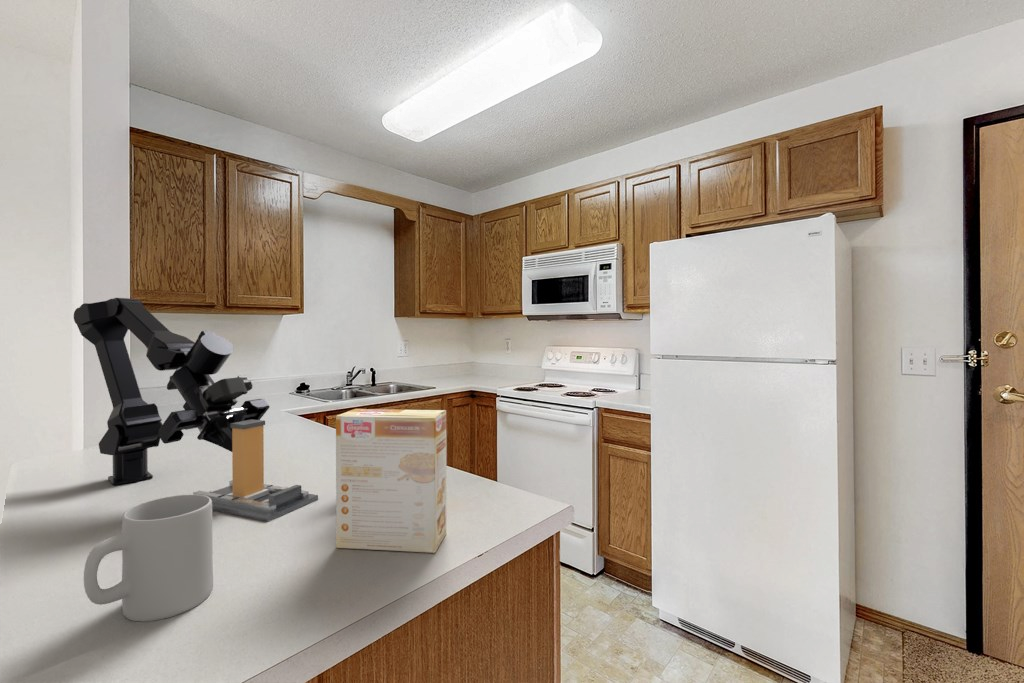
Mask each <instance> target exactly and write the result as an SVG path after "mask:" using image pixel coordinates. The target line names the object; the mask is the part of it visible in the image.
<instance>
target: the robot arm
mask: <svg viewBox="0 0 1024 683" xmlns="http://www.w3.org/2000/svg"><path fill="white" fill-rule="evenodd" d="M73 321H74V323H75V324H76V325H77V329H78V331H79V333H80V335H81V336H82V337H83V338H84V339H86V340H87V341H88V342H90V343H91V344H92V345H94V347H95V351H96V354H97V357H98V361H99V365H100V366H101V371H102V375H103V377H104V380H105V384H106V388H107V390H108V391H107V392H108V394H109V398H110V401H111V405H112V410H111V413H110V415H109V416H108V419H107V421H106V424H107V428H108V429H107V431H106V432H105V434H104V435H103V436H102V438H101V439H100V441H99V442H98V449H99V453H100V454H102V455H107V456H108V455H109V456H112V475H109V476H107V479H108V481H109V482H110V483H111V484H112V485H113V486H117V485H121V484H122V485H123V484H127V483H132V482H133V483H134V482H138V481H144V480H150V479H153V477H154V476H153V474H152V473H150V471H148V470H149V469H148V468H149V467H148V464H149V462H148V461H149V460H148V456H149V455H148V449H151V448H157V447H159V445H160V442H161V441H162V443H163V444H164V445H166V444H171V443H175V442H180V441H181V440H182V438H183V436H184V432H183V431H184V430H186V431H187V430H193V429H198V431H199V434H198V436H196V439H197V440H199V441H201V440H203V441H205V442H208V443H211V444H213V445H216V446H218V447H221V448H223V449H225V450H227V451H228V452H231V453H232V428H230V424H231V423H236V422H241V421H246V420H251V419H253V420H262V417H264V415H265V414H266V412H267V411H268V410H269V409H270V405H269V404H268V402H267V401H266V400H265V398H255V399H250V400H249V399H248V400H245V401H244V402H243V403H242V404H241V406H240V407H239V408H232V407H233V406H235V405H236V404H237V403H238V400H237V398H239V397H241V396H242V395H247V394H248V392H249V391H251V390H252V389H253V383H252V380H251V379H250V377H248V375H246V374H242V375H237V377H230V378H229V377H228V378H222V379H219V380H218V381H216V382H215V381H214V380H213V379H212V377H211V376H212V375H216V374H217V373H219V372H220V370H221V368H222V367H223V366H224V365H225V363H226V361H227V360H228V359H229V357H230V356H231V355H232V353H233V351H234V346H233V344H232V342H231V341H230V340H228V339H227V338H224V337H222V336H221V335H218V334H215V332H214V331H213V330H201V332H200V333H199V335H198V336H197V339H196V340H195V342H194V341H193V340H191V339H190V338H188V337H187V336H185V335H182V334H181V335H180V334H177V333H174V332H173V331H171V330H169V328H167V327H166V326H165V325H164V324H162V322H161V321H159V319H158V318H156V316H154V315H153V314H152V313H151V312H150V311H149V310H148V309H147V308H146V307H145V306H144V304H143V302H142V301H141V300H140V299H137V298H129V297H128V298H127V297H126V298H125V297H113V298H110V299H107V300H103V301H97V302H92V303H91V302H90V303H86V302H85V303H82V304H81V305H80V306H79V307H77V308H76V309H75V310H74V312H73ZM128 330H129V331H130V332H131V333H132V335H134V336H135V337H136V338H137V339H138V341H140V342H141V343H142V344H143V345H144V346H145V347H146V354H145V355H146V358H147V360H148V361H149V362H150V363H151V365H152V366H153V367H154V368H155V370H158V371H161V372H162V371H163V372H164V371H174V372H173V374H172V375H169V381H168V382H167V384H166V389H167V391H171V390H177V391H178V392H179V394H180V395H181V397H182V399H184V401H185V403H184V404H183V405H182V408H183V410H177V411H176V410H175V411H171V412H170V413H169V415H168V416H167V417H166V419H165V420H164V422H163V423H162V421H163V420H162V418H161V416H160V413H159V410H158V409H159V408H158V406H157V405H156V403H154V402H153V403H148V402H146V401H145V400H143V397H142V394H141V391H140V388H139V387H140V386H139V384H138V381H137V378H136V375H135V372H134V368H133V365H132V361H131V358H130V355H129V352H128V349H127V345H126V341H125V337H126V335H127V333H128ZM210 375H211V376H210Z"/></svg>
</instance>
